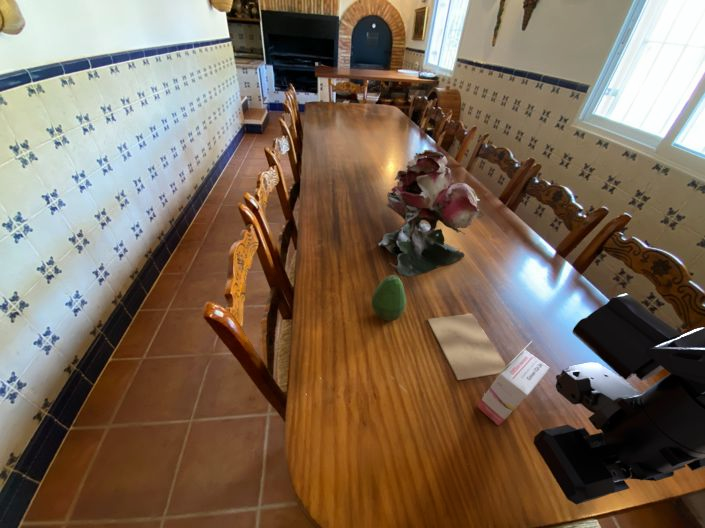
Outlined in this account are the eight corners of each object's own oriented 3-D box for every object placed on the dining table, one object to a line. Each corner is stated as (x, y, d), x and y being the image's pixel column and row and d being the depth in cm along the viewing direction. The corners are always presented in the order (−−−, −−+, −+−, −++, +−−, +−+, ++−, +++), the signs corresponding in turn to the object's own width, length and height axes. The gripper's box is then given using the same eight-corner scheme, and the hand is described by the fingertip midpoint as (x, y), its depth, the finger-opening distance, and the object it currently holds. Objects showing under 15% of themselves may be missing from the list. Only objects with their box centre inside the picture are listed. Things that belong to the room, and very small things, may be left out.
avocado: (395, 301, 76) (403, 265, 69) (406, 325, 70) (417, 289, 63) (365, 305, 74) (370, 269, 67) (374, 330, 69) (381, 294, 61)
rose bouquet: (477, 254, 94) (516, 161, 75) (404, 282, 82) (429, 179, 63) (424, 216, 111) (445, 132, 92) (357, 234, 98) (365, 142, 79)
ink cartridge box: (499, 428, 54) (536, 387, 44) (475, 406, 56) (505, 363, 47) (521, 399, 58) (560, 356, 49) (498, 380, 61) (530, 336, 51)
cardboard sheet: (509, 372, 62) (510, 371, 62) (457, 381, 60) (458, 379, 60) (471, 314, 74) (471, 313, 74) (427, 320, 72) (427, 318, 72)
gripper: (668, 335, 35) (592, 397, 45) (534, 357, 32) (483, 420, 42) (789, 435, 27) (663, 484, 37) (627, 480, 23) (536, 521, 33)
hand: (583, 472), depth 37 cm, fingers closed
